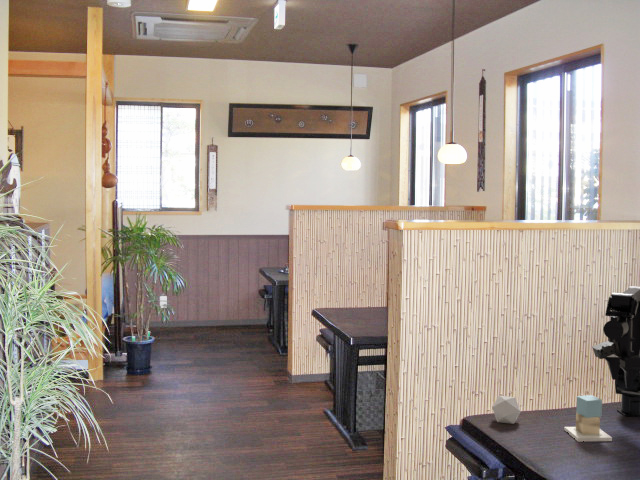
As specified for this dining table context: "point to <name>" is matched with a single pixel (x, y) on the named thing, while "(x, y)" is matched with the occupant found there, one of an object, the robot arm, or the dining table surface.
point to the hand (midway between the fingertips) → (620, 383)
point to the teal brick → (589, 406)
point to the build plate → (587, 435)
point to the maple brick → (587, 424)
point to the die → (506, 409)
